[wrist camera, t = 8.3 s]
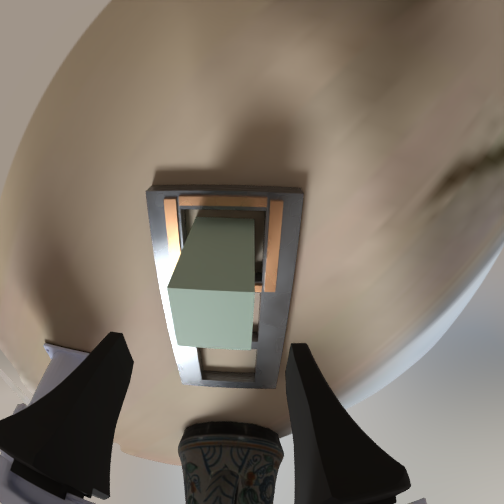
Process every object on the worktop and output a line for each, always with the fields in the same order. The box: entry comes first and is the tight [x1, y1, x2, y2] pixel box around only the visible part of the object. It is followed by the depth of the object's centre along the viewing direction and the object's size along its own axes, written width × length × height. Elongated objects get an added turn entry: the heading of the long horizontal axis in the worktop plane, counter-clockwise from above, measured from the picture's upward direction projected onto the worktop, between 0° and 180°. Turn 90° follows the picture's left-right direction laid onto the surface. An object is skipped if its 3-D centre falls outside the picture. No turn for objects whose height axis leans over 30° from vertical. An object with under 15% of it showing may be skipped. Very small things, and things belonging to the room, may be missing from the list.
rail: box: [146, 185, 304, 389], centre depth 23 cm, size 21×10×1 cm, turn 178°
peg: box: [167, 217, 255, 350], centre depth 17 cm, size 4×4×8 cm
